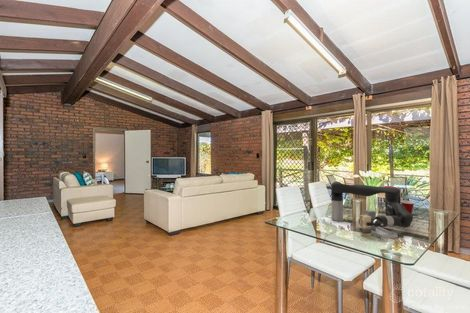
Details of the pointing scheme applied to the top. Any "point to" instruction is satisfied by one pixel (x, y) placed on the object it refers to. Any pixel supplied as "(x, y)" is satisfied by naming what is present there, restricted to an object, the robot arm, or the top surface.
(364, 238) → the pad
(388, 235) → the parts tray
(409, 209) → the plastic cup
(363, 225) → the banded wooden block
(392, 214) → the graphics card box
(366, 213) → the slate box
